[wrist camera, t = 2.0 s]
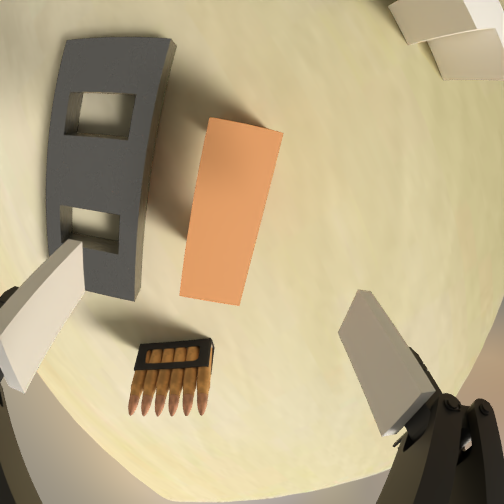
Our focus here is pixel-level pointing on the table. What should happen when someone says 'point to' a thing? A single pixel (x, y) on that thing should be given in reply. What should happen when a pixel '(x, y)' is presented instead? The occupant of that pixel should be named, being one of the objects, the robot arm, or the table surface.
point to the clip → (227, 209)
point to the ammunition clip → (172, 375)
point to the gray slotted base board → (106, 154)
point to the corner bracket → (457, 35)
